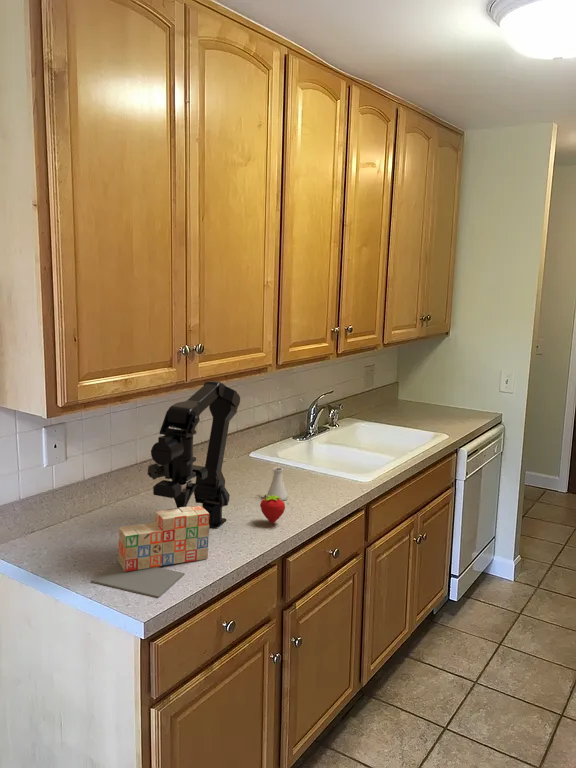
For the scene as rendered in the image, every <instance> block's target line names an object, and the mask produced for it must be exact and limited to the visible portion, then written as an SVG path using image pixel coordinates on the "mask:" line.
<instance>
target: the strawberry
mask: <svg viewBox="0 0 576 768" xmlns="http://www.w3.org/2000/svg"><path fill="white" fill-rule="evenodd" d="M264 496H265V498H263V499H262V500H261V502H260V505H259V506H260V510H261V513H262V514H263V515H264V517H265V518H266V519H267V521H268V522H269V523H270V524H275V523H276V522H277V521H278V520H279V519H280V518H281V516H282V515H283V514H284V512H285V509H286V505H285V501H282V500H280V499H281V498H278V497H280V496H275V495H273V496H272V492H271V496H267V494H266V495H264ZM266 496H267V497H269V498H266Z"/></svg>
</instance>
